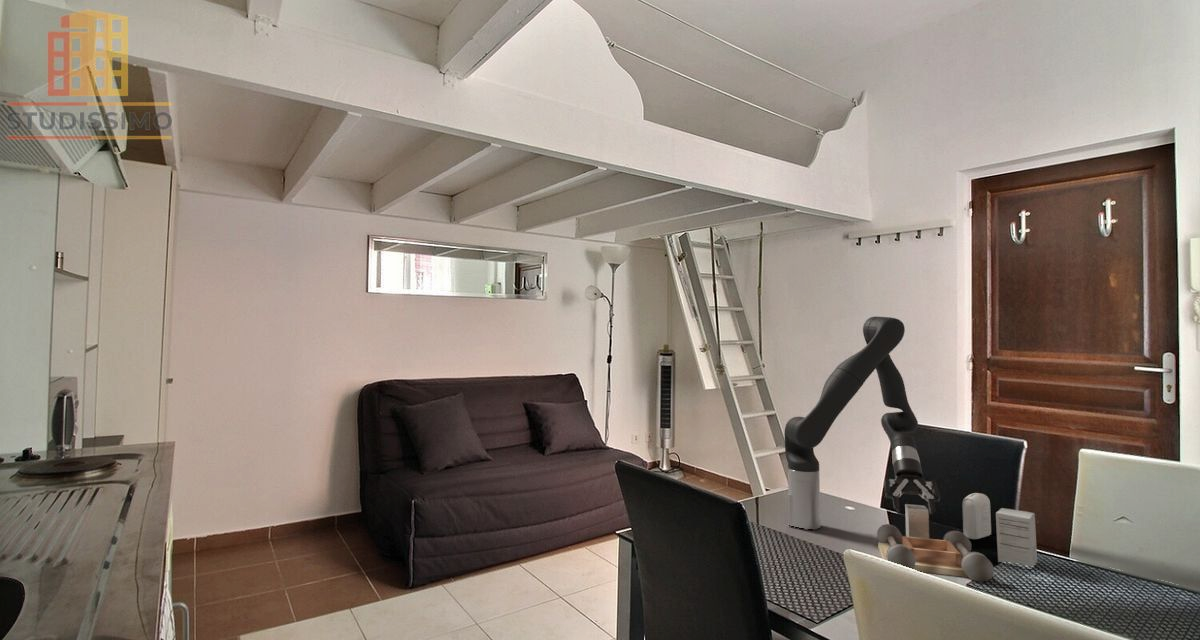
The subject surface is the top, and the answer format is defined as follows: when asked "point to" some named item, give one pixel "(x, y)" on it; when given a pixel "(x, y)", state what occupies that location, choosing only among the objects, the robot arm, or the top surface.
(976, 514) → the arched gray pillar
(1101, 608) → the top surface
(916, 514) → the beige rectangular block
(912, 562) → the chassis
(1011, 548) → the supplement box
